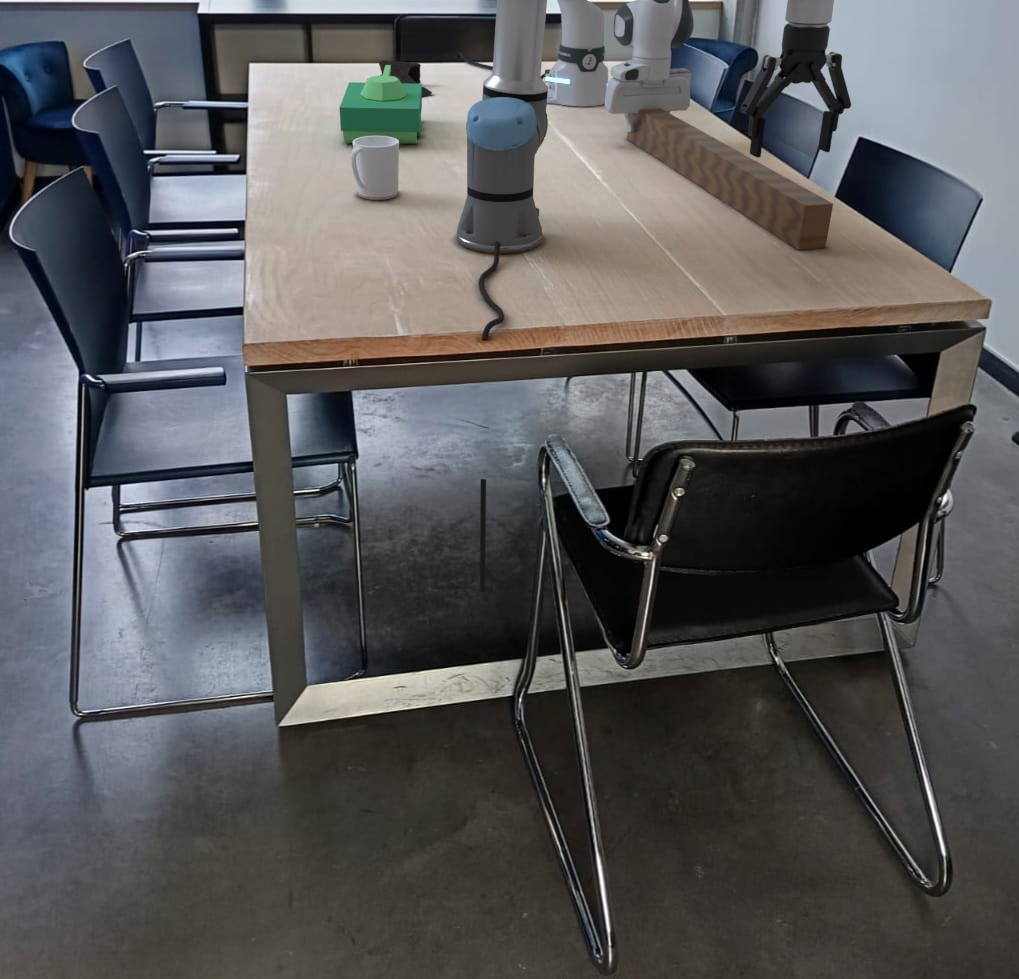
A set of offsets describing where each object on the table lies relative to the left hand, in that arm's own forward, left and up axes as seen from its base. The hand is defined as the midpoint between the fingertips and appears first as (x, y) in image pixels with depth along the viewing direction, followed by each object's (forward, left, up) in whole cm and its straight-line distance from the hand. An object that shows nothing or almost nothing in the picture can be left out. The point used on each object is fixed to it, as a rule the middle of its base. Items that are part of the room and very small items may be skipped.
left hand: (789, 153), depth 194 cm
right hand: (+63, +26, -12) cm, 69 cm away
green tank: (+64, +88, -15) cm, 110 cm away
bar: (+30, +11, -15) cm, 35 cm away
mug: (+10, +78, -15) cm, 80 cm away
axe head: (+106, +92, -15) cm, 142 cm away
